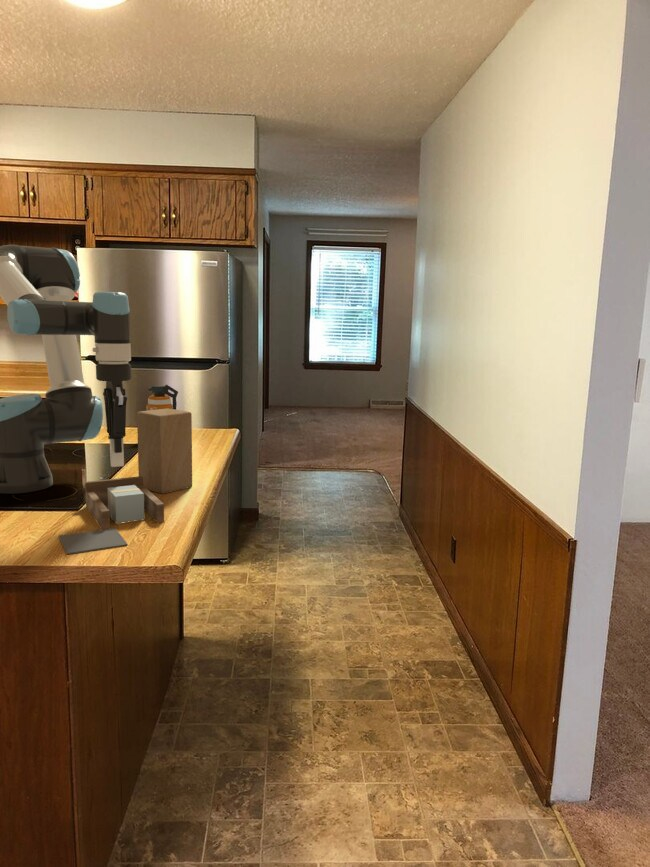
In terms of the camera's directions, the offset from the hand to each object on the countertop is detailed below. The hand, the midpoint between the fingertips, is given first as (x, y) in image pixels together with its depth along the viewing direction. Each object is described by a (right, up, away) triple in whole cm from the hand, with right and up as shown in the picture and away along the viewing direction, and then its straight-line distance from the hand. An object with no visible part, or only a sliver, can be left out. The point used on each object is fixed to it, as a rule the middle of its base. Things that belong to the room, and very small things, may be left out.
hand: (117, 465), depth 146 cm
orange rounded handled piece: (-11, +5, +85) cm, 86 cm away
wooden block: (+6, -7, +21) cm, 23 cm away
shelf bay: (+2, -11, -3) cm, 11 cm away
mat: (+2, -14, -21) cm, 25 cm away
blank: (+3, -11, -5) cm, 13 cm away
